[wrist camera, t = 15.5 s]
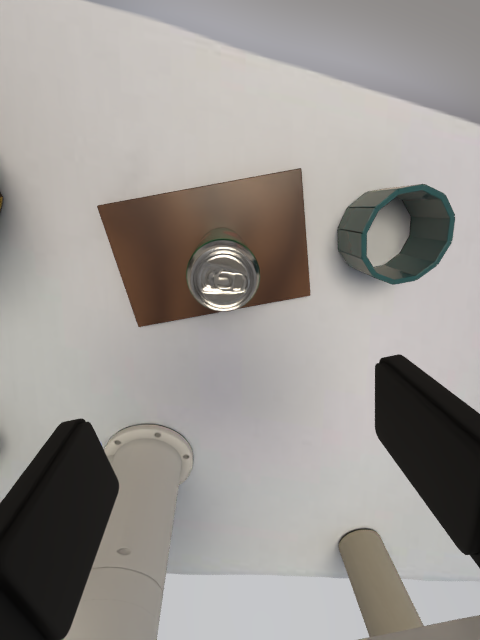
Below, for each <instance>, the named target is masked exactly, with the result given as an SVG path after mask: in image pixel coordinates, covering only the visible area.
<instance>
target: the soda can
mask: <svg viewBox="0 0 480 640" xmlns="http://www.w3.org/2000/svg"><path fill="white" fill-rule="evenodd" d="M186 279H187V284H188V288H189V290H190V292H191V294H192V295H193V297H194V298H195V299H196V300H197V301H198V302H199V303H200V304H202V305H203V306H205V307H207V308H209V309H211V310H215V311H221V312H226V311H232V310H236V309H238V308H240V307H242V306H244V305H245V304H246V303H248V302H249V301H250V300H251V299H252V297H253V296H254V295H255V293H256V291H257V289H258V286H259V282H260V269H259V265H258V262H257V259H256V258H255V256H254V254H253V253H252V252H251V250H250V249H249V247H248V246H247V245H246V243H245V242H244V240H243V239H242V238H241V237H240V235H239V234H237V233H236V232H235V231H233V230H231V229H227V228H216V229H213V230H211V231H209V232H207V233H206V234H205V235H204V236H203V237H202V239H201V240H200V242H199V244H198V246H197V247H196V249H195V251H194V252H193V254H192V256H191V258H190V260H189V262H188V265H187V270H186Z"/></svg>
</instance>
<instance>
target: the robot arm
mask: <svg viewBox="0 0 480 640" xmlns="http://www.w3.org/2000/svg"><path fill="white" fill-rule="evenodd" d="M375 430H376V434H377V436H378V438H379V440H380V441H381V442H382V444H383V445H384V447H385V448H386V449H387V451H388V452H389V454H390V455H391V456H392V458H393V459H394V460H395V462H396V463H397V465H398V466H399V467H400V469H401V470H402V471H403V473H404V474H405V476H406V477H407V478H408V480H409V481H410V483H411V484H412V485H413V487H414V488H415V489H416V491H417V492H418V494H419V495H420V496H421V498H422V499H423V500H424V502H425V503H426V505H427V506H428V507H429V509H430V510H431V511H432V513H433V514H434V516H435V517H436V518H437V520H438V521H439V523H440V524H441V525H442V527H443V528H444V529H445V531H446V532H447V534H448V535H449V536H450V538H451V539H452V540H453V542H454V543H455V545H456V546H457V547H458V548H459V550H460V551H461V552H462V553H464V554H465V555H470V556H471V557H472V558H473V560H474V561H475V562H476V564H477V565H478V567H479V568H480V414H479V413H478V412H476V411H475V410H474V409H473V408H471V407H470V406H469V405H467V404H466V403H465V402H463V401H462V400H461V399H459V398H458V397H457V396H455V395H454V394H453V393H451V392H450V391H449V390H447V389H446V388H445V387H443V386H442V385H441V384H440V383H438V382H437V381H436V380H434V379H433V378H432V377H430V376H429V375H428V374H426V373H425V372H424V371H422V370H421V369H420V368H418V367H417V366H416V365H414V364H413V363H412V362H410V361H409V360H408V359H406V358H405V357H404V356H402V355H394V356H389V357H384V358H381V359H380V362H379V363H377V364H376V366H375ZM192 465H193V452H192V449H191V447H190V445H189V443H188V442H187V441H186V440H185V439H184V438H183V437H182V436H181V435H180V434H178V433H177V432H175V431H173V430H171V429H169V428H166V427H163V426H158V425H147V424H144V425H135V426H132V427H128V428H126V429H123V430H121V431H119V432H118V433H116V434H115V435H114V436H113V437H112V438H111V439H110V440H109V441H108V443H107V445H106V447H105V449H104V450H103V447H102V445H101V443H100V441H99V439H98V437H97V435H96V433H95V431H94V429H93V427H92V425H91V423H89V422H86V421H85V420H84V419H76V420H71V421H66V422H63V423H61V424H60V425H59V426H58V427H57V428H56V430H55V431H54V432H53V434H52V435H51V436H50V438H49V439H48V440H47V442H46V443H45V444H44V446H43V447H42V448H41V450H40V451H39V452H38V454H37V455H36V456H35V458H34V459H33V460H32V462H31V463H30V464H29V466H28V467H27V468H26V470H25V471H24V472H23V474H22V475H21V476H20V478H19V479H18V480H17V482H16V483H15V485H14V486H13V487H12V489H11V490H10V491H9V493H8V494H7V495H6V497H5V498H4V499H3V501H2V502H1V503H0V640H157V634H158V625H159V618H160V612H161V605H162V598H163V590H164V583H165V576H166V570H167V563H168V556H169V549H170V542H171V535H172V528H173V521H174V515H175V508H176V501H177V494H178V487H179V485H180V484H181V483H183V482H184V481H185V480H186V479H187V477H188V476H189V475H190V472H191V470H192ZM359 640H480V615H479V616H473V617H467V618H462V619H457V620H452V621H447V622H442V623H437V624H432V625H427V626H422V627H418V628H413V629H408V630H403V631H398V632H393V633H388V634H383V635H378V636H373V637H369V638H364V639H359Z"/></svg>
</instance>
